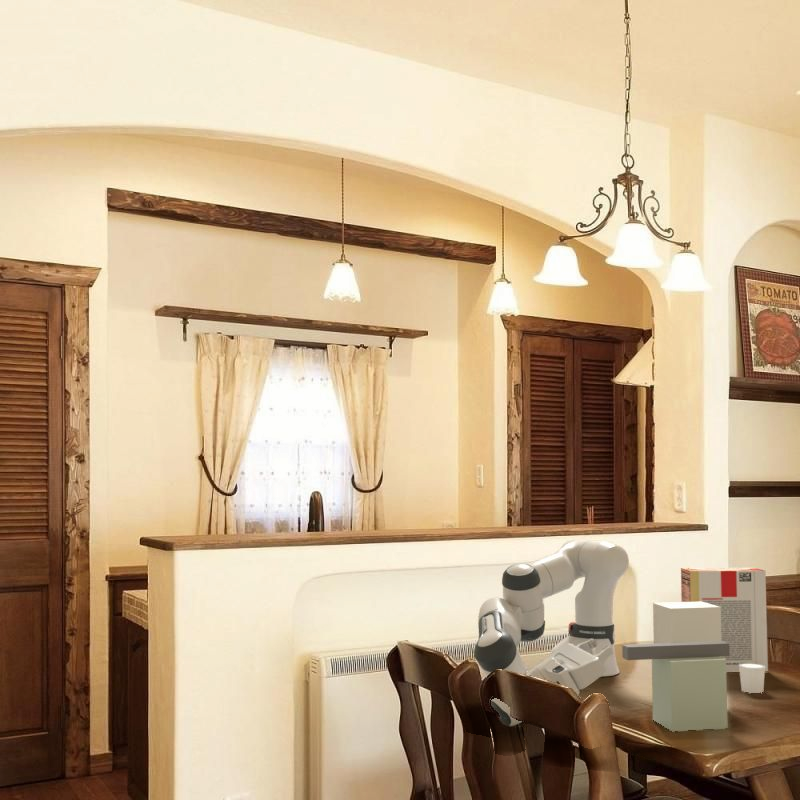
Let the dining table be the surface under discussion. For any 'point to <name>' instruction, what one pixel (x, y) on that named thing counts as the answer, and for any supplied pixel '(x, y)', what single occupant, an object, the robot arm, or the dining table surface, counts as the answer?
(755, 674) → the shot glass
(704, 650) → the charcoal bar
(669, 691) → the low stand
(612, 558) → the robot arm
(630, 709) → the dining table surface
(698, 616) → the tall stand
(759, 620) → the pasta box
